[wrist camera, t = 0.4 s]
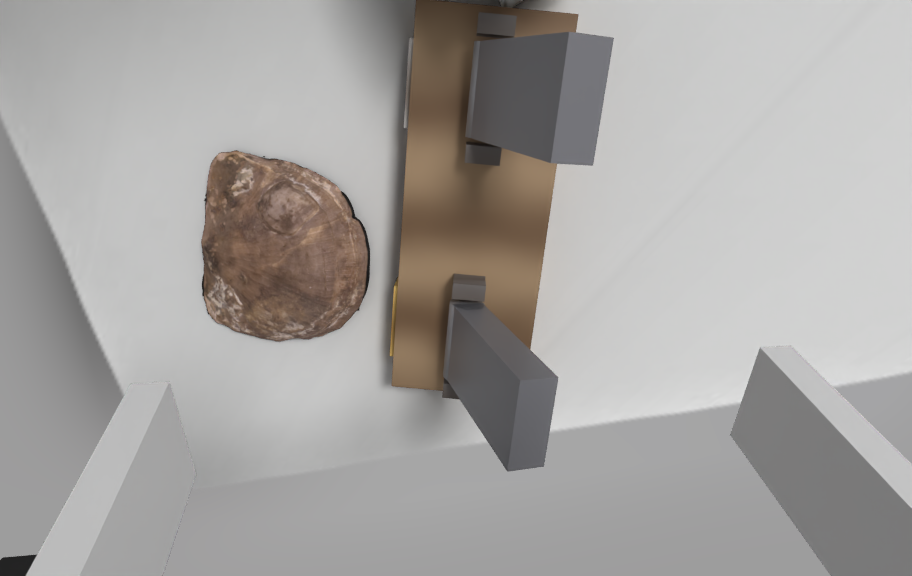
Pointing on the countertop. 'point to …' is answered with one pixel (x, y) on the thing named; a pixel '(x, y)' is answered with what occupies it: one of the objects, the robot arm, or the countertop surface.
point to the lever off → (540, 95)
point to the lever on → (499, 384)
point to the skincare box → (509, 3)
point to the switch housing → (463, 194)
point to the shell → (280, 249)
